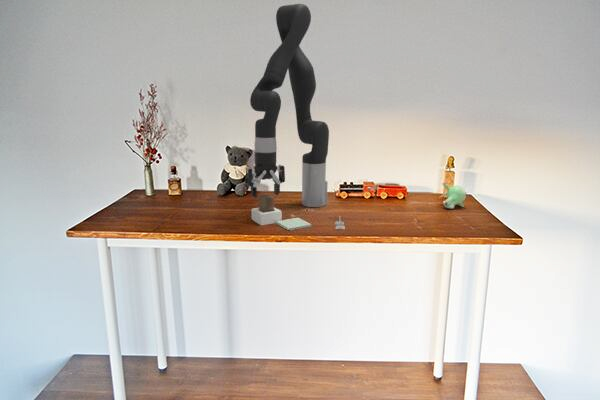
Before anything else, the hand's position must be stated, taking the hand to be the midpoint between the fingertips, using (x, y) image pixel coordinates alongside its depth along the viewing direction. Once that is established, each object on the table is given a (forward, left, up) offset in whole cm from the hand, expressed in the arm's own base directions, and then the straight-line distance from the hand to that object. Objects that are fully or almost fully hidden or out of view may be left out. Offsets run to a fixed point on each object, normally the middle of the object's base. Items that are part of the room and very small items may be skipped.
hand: (265, 195), depth 167 cm
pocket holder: (0, 0, -9) cm, 9 cm away
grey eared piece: (-21, +15, -10) cm, 28 cm away
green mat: (-6, +9, -9) cm, 14 cm away
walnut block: (0, 0, -9) cm, 9 cm away
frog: (-72, +20, -10) cm, 75 cm away
